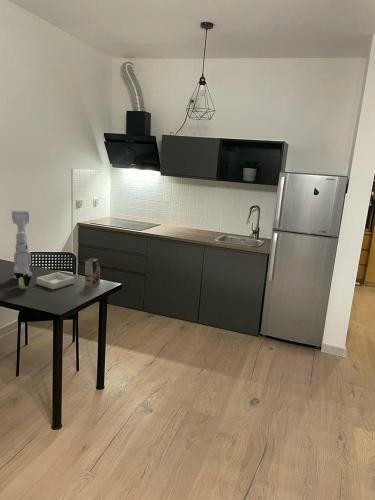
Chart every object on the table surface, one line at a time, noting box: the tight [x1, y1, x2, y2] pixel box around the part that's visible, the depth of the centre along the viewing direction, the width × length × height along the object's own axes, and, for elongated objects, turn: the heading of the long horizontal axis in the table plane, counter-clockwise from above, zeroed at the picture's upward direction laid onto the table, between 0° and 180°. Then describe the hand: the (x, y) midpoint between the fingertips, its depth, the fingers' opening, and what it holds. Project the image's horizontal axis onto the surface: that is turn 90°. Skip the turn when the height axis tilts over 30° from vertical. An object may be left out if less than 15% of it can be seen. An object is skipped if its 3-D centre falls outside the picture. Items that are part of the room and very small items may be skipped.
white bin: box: [36, 272, 75, 291], centre depth 230 cm, size 16×16×4 cm
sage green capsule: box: [18, 277, 29, 290], centre depth 220 cm, size 5×5×6 cm
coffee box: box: [84, 257, 101, 288], centre depth 232 cm, size 9×6×16 cm
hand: (23, 285), depth 220 cm, fingers open, 6 cm apart
